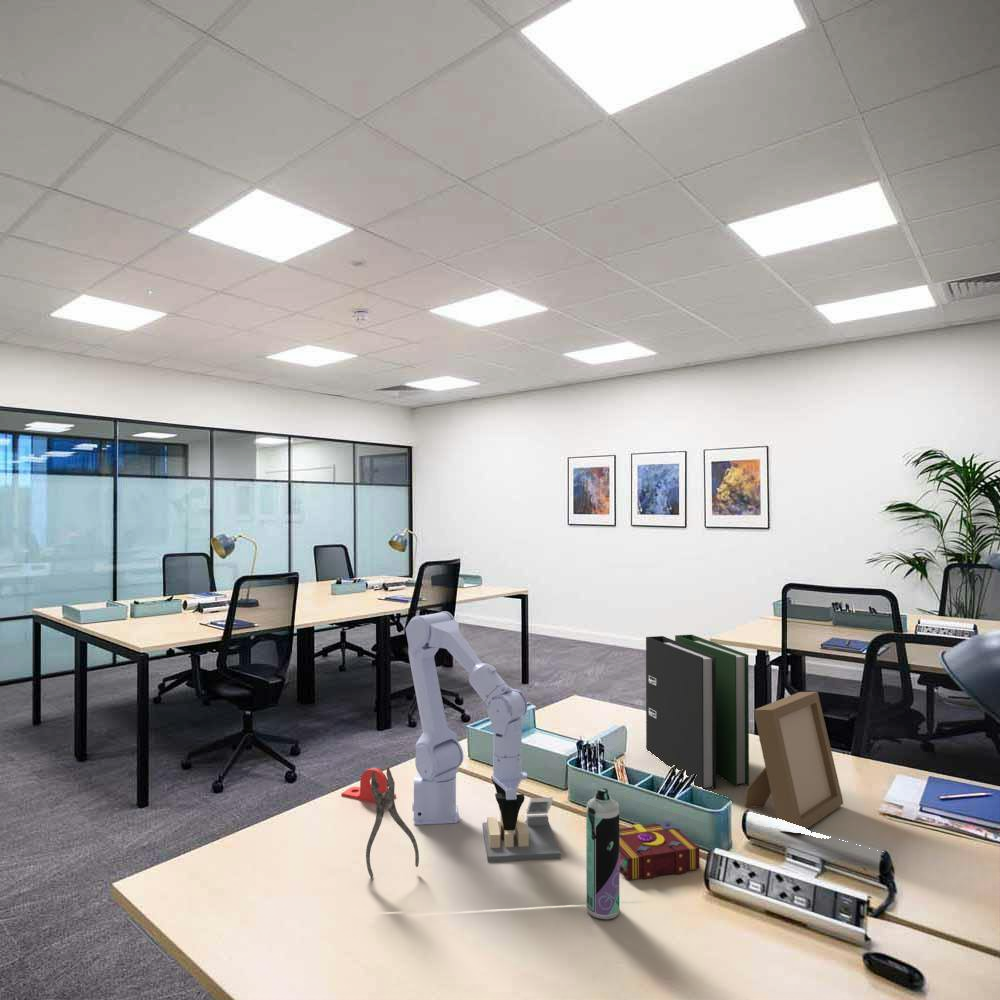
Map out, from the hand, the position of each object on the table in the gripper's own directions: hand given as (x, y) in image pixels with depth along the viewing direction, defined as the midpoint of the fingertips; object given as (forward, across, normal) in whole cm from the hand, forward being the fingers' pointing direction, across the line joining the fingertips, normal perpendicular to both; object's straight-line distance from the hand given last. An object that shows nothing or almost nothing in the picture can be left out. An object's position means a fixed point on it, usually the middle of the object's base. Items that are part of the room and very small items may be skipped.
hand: (507, 820), depth 135 cm
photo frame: (+5, +8, -64) cm, 65 cm away
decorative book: (+5, -10, -26) cm, 28 cm away
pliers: (+5, -10, +22) cm, 25 cm away
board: (+4, 0, -2) cm, 5 cm away
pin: (+3, 0, 0) cm, 3 cm away
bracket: (+5, +24, +30) cm, 39 cm away
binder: (+5, +33, -52) cm, 62 cm away
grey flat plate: (+1, +6, -7) cm, 9 cm away
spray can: (+5, -24, -14) cm, 28 cm away
